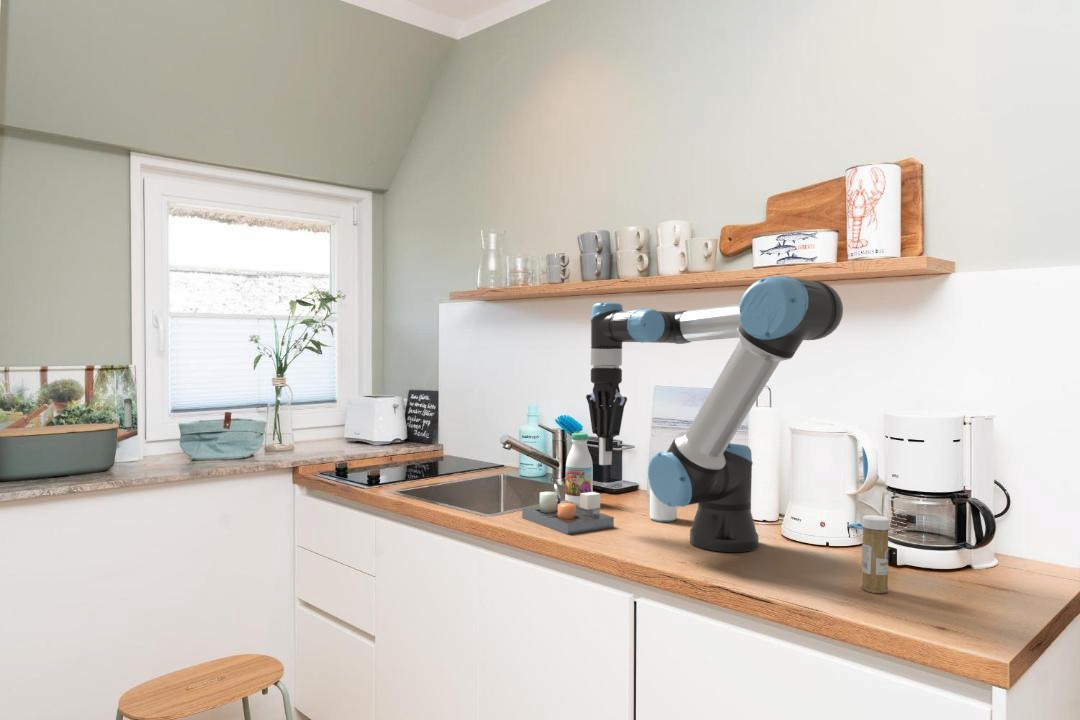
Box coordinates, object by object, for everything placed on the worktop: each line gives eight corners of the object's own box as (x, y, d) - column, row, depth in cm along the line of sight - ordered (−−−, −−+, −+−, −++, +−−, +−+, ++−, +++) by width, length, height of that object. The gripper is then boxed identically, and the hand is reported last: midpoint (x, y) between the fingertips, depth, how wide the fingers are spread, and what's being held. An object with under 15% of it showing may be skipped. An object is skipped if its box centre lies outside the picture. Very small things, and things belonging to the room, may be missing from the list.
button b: (560, 511, 184) (560, 493, 184) (545, 513, 182) (546, 495, 182) (550, 508, 188) (550, 491, 188) (536, 510, 185) (536, 492, 185)
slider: (600, 507, 181) (600, 493, 181) (587, 509, 178) (587, 495, 178) (592, 505, 183) (593, 491, 183) (580, 507, 181) (580, 493, 181)
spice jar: (889, 595, 130) (890, 520, 130) (861, 592, 132) (862, 518, 131) (887, 588, 134) (888, 515, 134) (860, 585, 136) (861, 513, 136)
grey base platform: (613, 527, 179) (614, 495, 179) (567, 534, 171) (568, 501, 171) (564, 511, 196) (565, 482, 196) (520, 517, 188) (521, 487, 188)
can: (675, 517, 191) (676, 471, 191) (678, 523, 184) (678, 476, 184) (648, 516, 192) (649, 470, 192) (650, 522, 185) (650, 475, 185)
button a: (579, 523, 177) (579, 505, 177) (564, 525, 175) (564, 507, 175) (568, 520, 181) (568, 502, 181) (554, 522, 179) (554, 504, 179)
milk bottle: (567, 500, 211) (568, 431, 211) (594, 501, 209) (595, 432, 209) (563, 505, 203) (564, 434, 203) (590, 507, 202) (591, 435, 202)
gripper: (636, 367, 172) (635, 466, 172) (601, 366, 183) (600, 460, 183) (611, 367, 168) (610, 469, 168) (577, 366, 179) (576, 462, 179)
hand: (605, 464), depth 176 cm, fingers closed
